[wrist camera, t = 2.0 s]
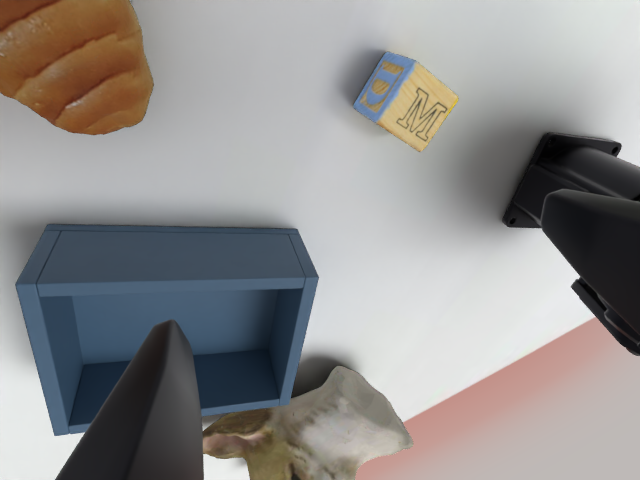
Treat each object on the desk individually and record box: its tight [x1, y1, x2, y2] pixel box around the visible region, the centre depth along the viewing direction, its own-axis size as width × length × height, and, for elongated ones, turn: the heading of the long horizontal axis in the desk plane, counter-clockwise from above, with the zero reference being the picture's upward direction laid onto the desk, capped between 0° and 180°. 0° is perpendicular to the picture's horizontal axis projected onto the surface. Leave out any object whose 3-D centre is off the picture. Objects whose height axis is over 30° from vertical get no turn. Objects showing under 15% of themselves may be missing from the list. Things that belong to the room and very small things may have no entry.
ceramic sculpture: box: [203, 366, 413, 480], centre depth 29 cm, size 11×9×15 cm
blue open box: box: [15, 224, 319, 436], centre depth 21 cm, size 12×10×5 cm
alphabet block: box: [354, 52, 459, 152], centre depth 19 cm, size 3×3×3 cm
